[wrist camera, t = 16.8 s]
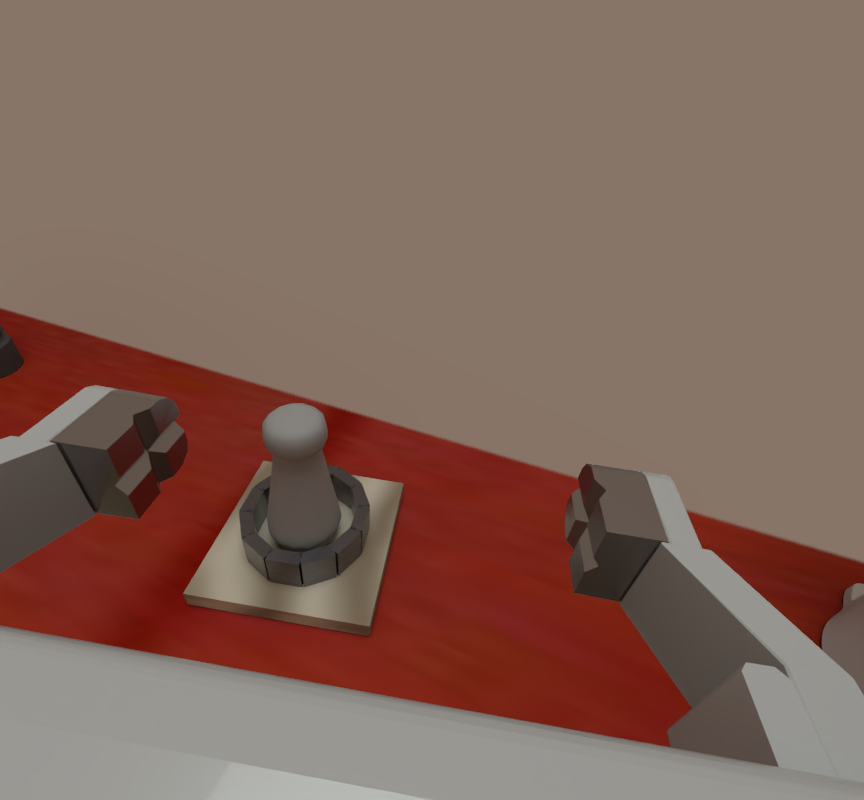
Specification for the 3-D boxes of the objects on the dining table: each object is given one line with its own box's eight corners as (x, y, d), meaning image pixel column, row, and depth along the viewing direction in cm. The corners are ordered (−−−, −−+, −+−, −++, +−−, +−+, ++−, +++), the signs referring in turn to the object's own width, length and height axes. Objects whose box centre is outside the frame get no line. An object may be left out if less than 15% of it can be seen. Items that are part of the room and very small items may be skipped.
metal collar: (378, 495, 42) (379, 473, 40) (350, 595, 34) (349, 573, 32) (275, 478, 42) (271, 456, 40) (222, 573, 34) (215, 550, 32)
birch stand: (402, 493, 44) (403, 483, 43) (369, 636, 33) (369, 626, 32) (265, 471, 45) (263, 460, 44) (187, 604, 34) (183, 593, 33)
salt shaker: (284, 577, 35) (261, 457, 27) (261, 524, 38) (236, 404, 30) (353, 545, 37) (351, 428, 30) (326, 498, 41) (318, 383, 33)
